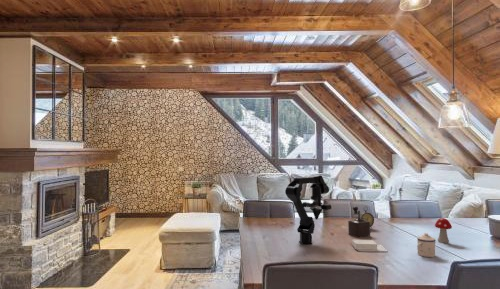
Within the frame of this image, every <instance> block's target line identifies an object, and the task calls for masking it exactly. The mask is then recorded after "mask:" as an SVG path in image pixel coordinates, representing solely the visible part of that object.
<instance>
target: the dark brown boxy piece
mask: <svg viewBox="0 0 500 289" xmlns="http://www.w3.org/2000/svg"><path fill="white" fill-rule="evenodd" d="M352 211H353V213H352V215H355V216H356V215H357V216H358V217H357V218H355V219H351V220H348V221H347V222H348V227H347V228H348V235H350V236H353V237H354V238H355V237H356V238H366V237H371V227H370V222H368V221H366V220H364V219H363V218H360V214H361V211H360V210H359V207H358V206H353V207H352Z"/></svg>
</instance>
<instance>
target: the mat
mask: <svg viewBox="0 0 500 289" xmlns="http://www.w3.org/2000/svg"><path fill="white" fill-rule="evenodd" d="M356 250H357V252H374V253H388V250H387V249H386V248H385V247H384V246H383V245H382V244H377V250H369V249H356Z"/></svg>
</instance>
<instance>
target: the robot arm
mask: <svg viewBox="0 0 500 289" xmlns="http://www.w3.org/2000/svg"><path fill="white" fill-rule="evenodd" d="M306 184H311V185H310V188H311V195H310V199H308V200H307V201H304V202H303V201H302V199H301V197H302V191H303V185H306ZM297 185H298V186H297ZM329 192H330V187H329V185H328V183H326V182H325V179H324V178H323V175H322V174H321V175H320V174H312V175H309V176H304V177H302V176H301V177H294V179H293V180H292V181H291V182H290V183H288V184H287V186H286V188H285V192H284V193H285V195H286V197H287V199H289V200H291V202H292V204H293V205H294V208H295V210H296V212H297V215H298V218H299V219H300V220H299V225H298V227H297V229H296V230H297V233H299V240H298V243H300V244H301V245H312V244H313V235H312V234H314V233H315V227H316V225H315V220H318V219H319V217H320V214H321V213H322V211H323V210H324V211H329V210H332V205H331V204H327V203H324V204H323V202H322V199H323V196H322V195H325V194H328V193H329ZM305 208H309V210H311V211H312V213H313V216H314V218H315V220H314V219H313V216H309V215H308V213H307V211H306V209H305Z"/></svg>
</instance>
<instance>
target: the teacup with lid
mask: <svg viewBox="0 0 500 289" xmlns="http://www.w3.org/2000/svg"><path fill="white" fill-rule="evenodd" d="M416 240H417V249H416V250H417V254H418V256H420V257H425V258H434V257H436V238H435V237H432V236H431V235H429V234H428V233H424V234H423V235H420V236H417V238H416Z"/></svg>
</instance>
